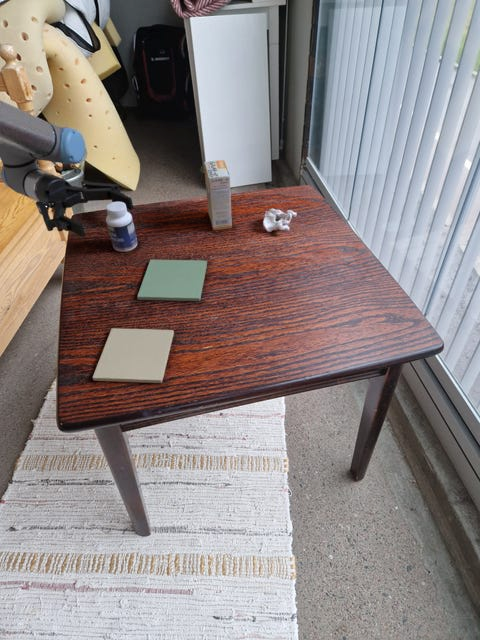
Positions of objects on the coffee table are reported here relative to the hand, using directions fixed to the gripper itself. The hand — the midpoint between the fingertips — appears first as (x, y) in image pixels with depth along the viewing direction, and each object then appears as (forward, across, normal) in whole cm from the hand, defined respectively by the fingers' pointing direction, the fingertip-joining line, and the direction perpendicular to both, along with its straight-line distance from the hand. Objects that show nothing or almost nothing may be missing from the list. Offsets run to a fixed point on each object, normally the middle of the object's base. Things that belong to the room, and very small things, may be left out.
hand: (108, 216), depth 91 cm
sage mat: (+21, +3, -6) cm, 22 cm away
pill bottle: (+4, 0, -6) cm, 7 cm away
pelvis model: (+27, -26, -6) cm, 38 cm away
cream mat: (+30, +21, -6) cm, 37 cm away
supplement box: (+14, -20, -6) cm, 26 cm away
